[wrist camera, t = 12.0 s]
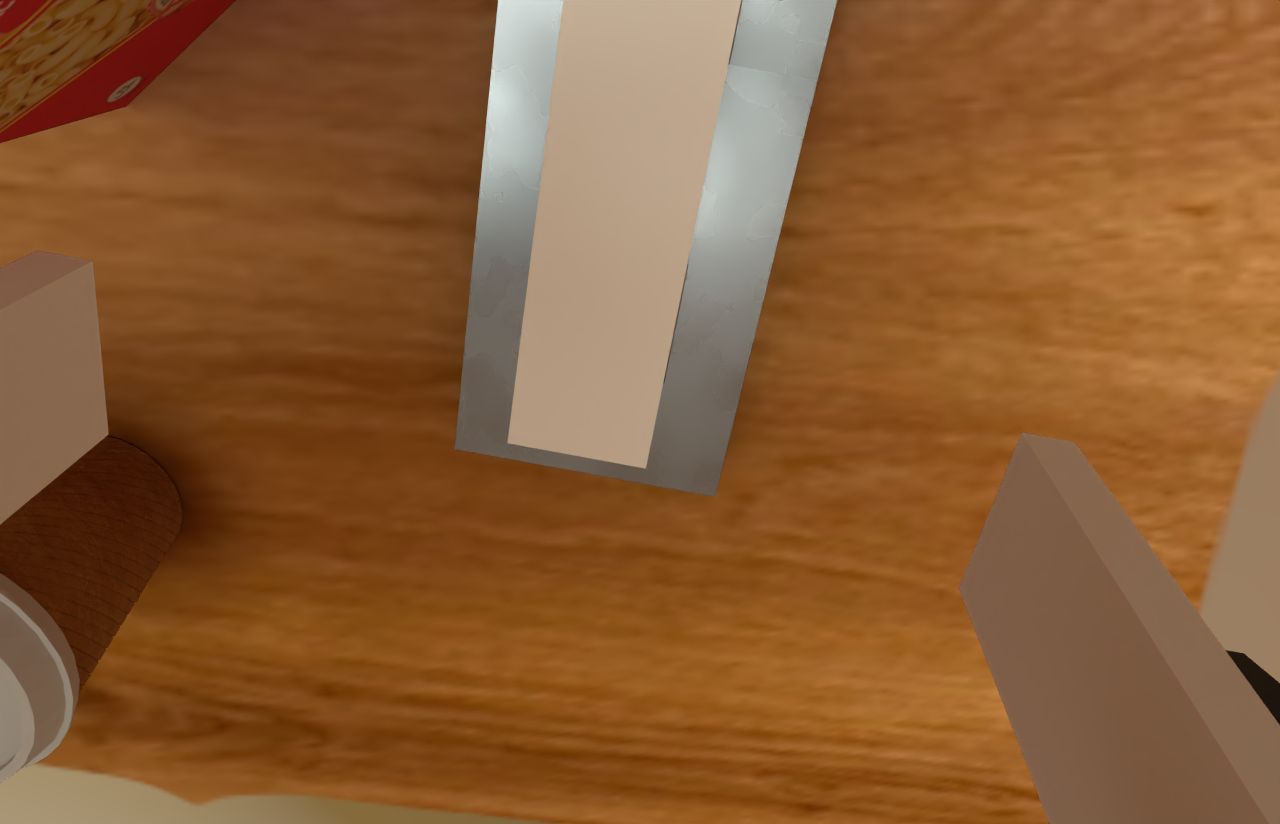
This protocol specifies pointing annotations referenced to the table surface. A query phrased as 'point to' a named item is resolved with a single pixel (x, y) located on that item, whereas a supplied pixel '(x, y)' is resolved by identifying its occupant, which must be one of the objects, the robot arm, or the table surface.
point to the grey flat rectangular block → (720, 252)
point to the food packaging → (87, 55)
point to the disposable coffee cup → (74, 586)
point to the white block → (616, 219)
